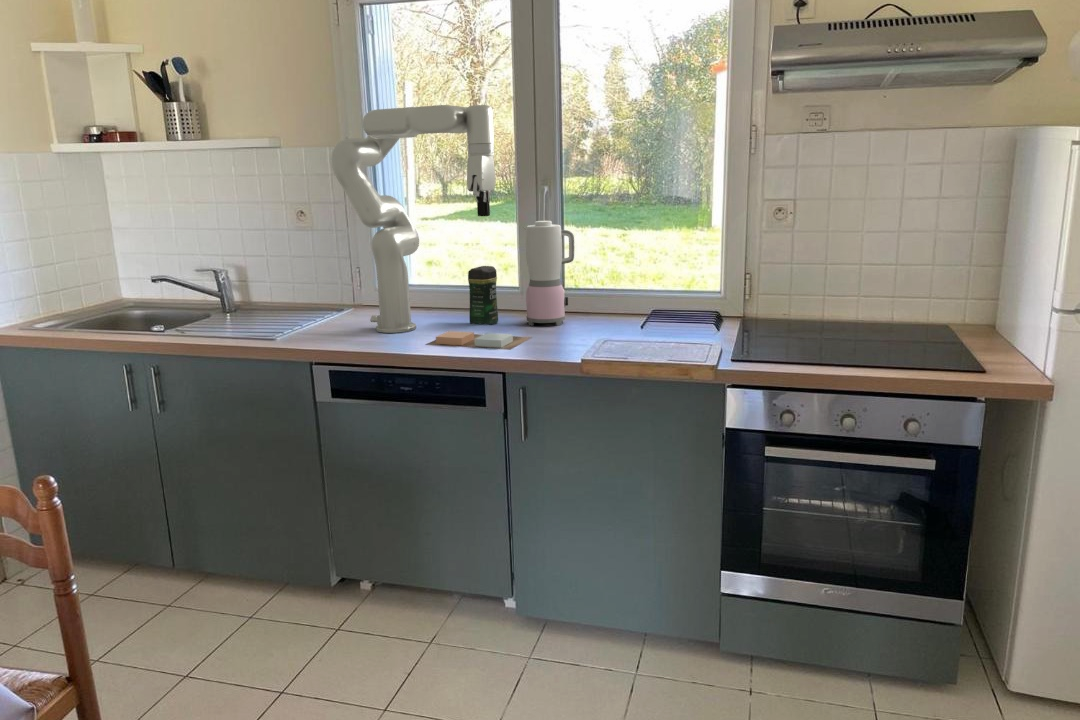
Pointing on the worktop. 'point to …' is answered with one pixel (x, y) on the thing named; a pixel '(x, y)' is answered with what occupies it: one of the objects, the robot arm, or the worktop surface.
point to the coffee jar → (483, 295)
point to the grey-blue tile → (494, 340)
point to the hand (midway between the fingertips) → (483, 215)
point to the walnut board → (509, 346)
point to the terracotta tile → (455, 338)
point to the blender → (546, 272)
